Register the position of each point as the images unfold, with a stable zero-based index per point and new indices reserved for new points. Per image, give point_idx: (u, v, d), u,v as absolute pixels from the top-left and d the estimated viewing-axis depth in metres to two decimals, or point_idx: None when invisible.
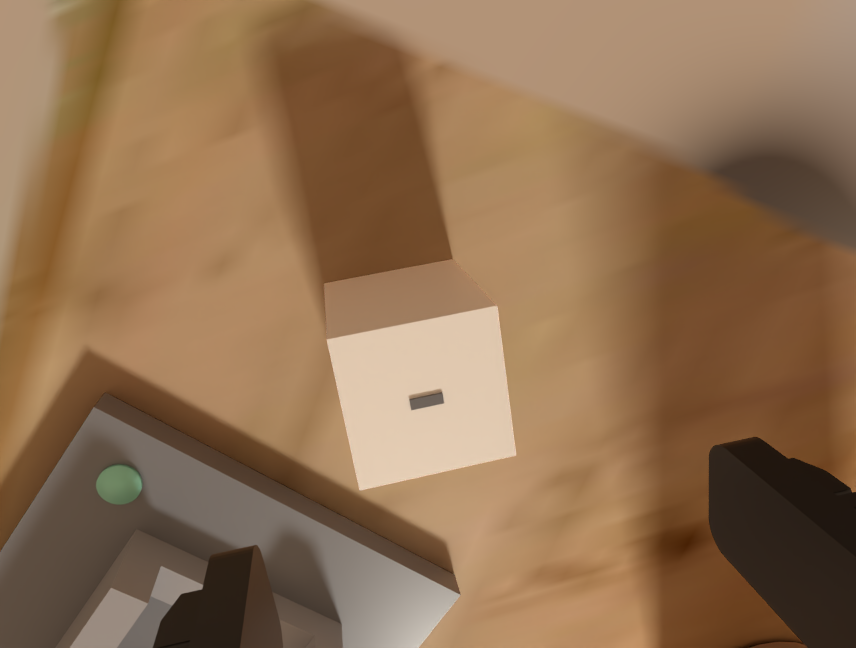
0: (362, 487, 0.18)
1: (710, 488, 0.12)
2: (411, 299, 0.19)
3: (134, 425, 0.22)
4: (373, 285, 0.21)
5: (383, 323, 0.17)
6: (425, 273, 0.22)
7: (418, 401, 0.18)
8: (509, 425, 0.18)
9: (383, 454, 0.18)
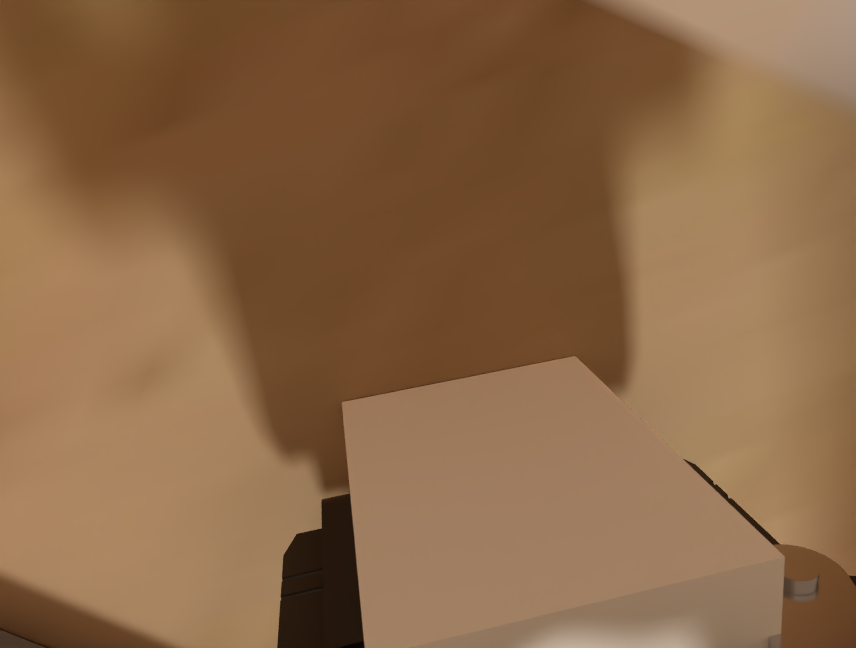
0: None
1: None
2: (540, 491, 0.09)
3: None
4: (440, 422, 0.11)
5: (502, 596, 0.07)
6: (538, 394, 0.11)
7: None
8: None
9: None
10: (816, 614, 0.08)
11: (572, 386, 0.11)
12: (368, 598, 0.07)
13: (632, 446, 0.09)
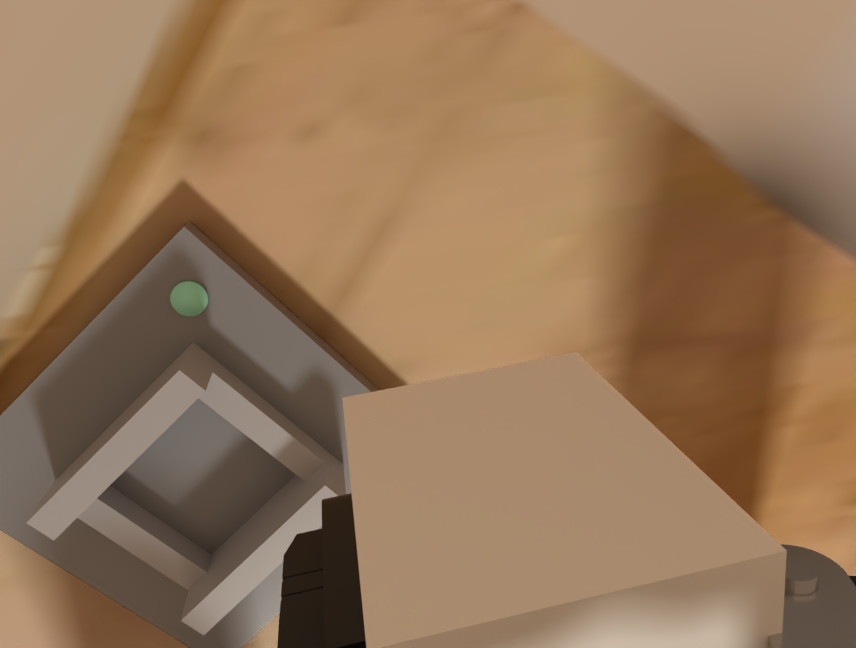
0: None
1: None
2: (542, 486, 0.09)
3: (212, 250, 0.26)
4: (441, 418, 0.11)
5: (503, 589, 0.07)
6: (538, 389, 0.11)
7: None
8: None
9: None
10: (816, 614, 0.08)
11: (573, 382, 0.11)
12: (369, 591, 0.07)
13: (633, 441, 0.09)
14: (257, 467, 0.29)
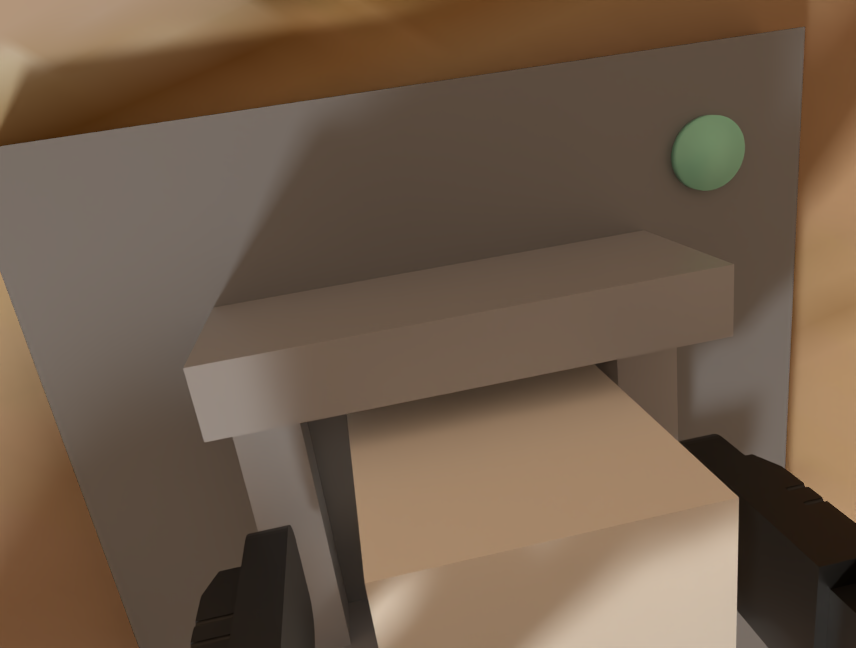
0: None
1: None
2: (524, 448, 0.10)
3: (796, 102, 0.13)
4: None
5: (486, 532, 0.08)
6: None
7: None
8: None
9: None
10: None
11: None
12: (367, 536, 0.08)
13: (609, 410, 0.10)
14: None
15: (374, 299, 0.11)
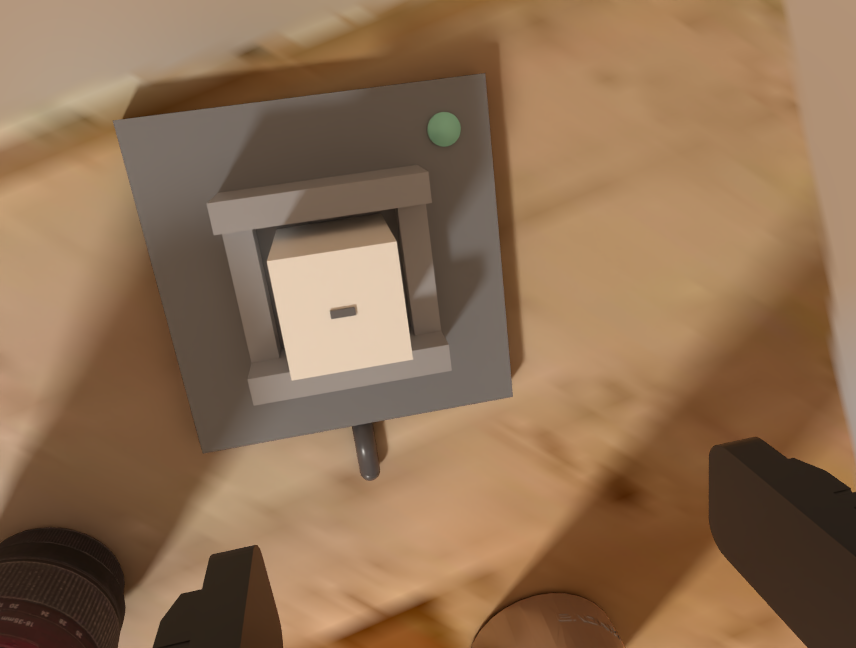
0: (293, 378, 0.24)
1: (710, 488, 0.12)
2: (337, 238, 0.25)
3: (487, 107, 0.28)
4: (313, 230, 0.27)
5: (310, 252, 0.23)
6: (356, 222, 0.27)
7: (336, 312, 0.23)
8: (407, 335, 0.24)
9: (309, 353, 0.24)
10: None
11: (371, 220, 0.28)
12: (271, 255, 0.23)
13: (377, 229, 0.25)
14: None
15: (286, 187, 0.26)
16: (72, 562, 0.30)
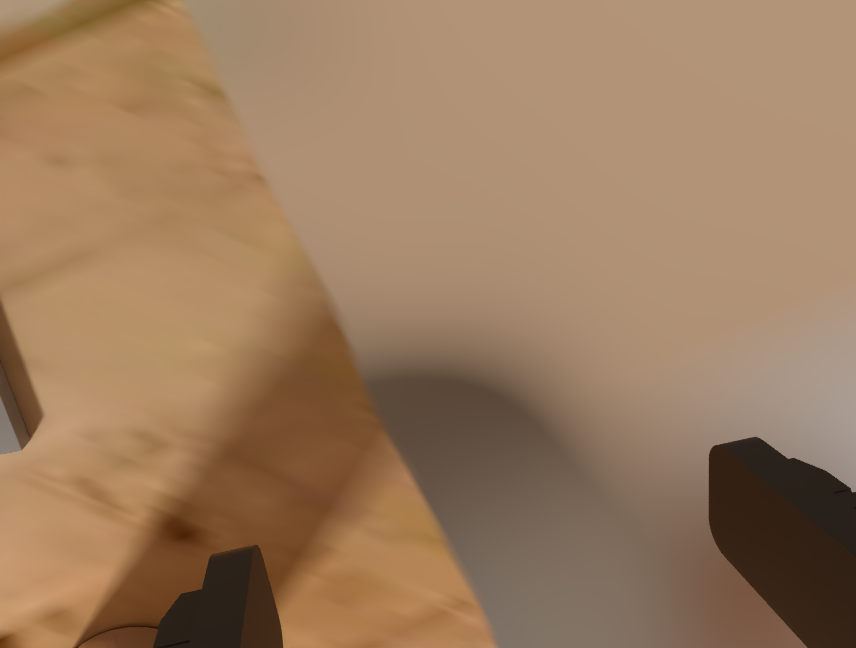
0: None
1: (710, 488, 0.12)
2: None
3: None
4: None
5: None
6: None
7: None
8: None
9: None
10: None
11: None
12: None
13: None
14: None
15: None
16: None
